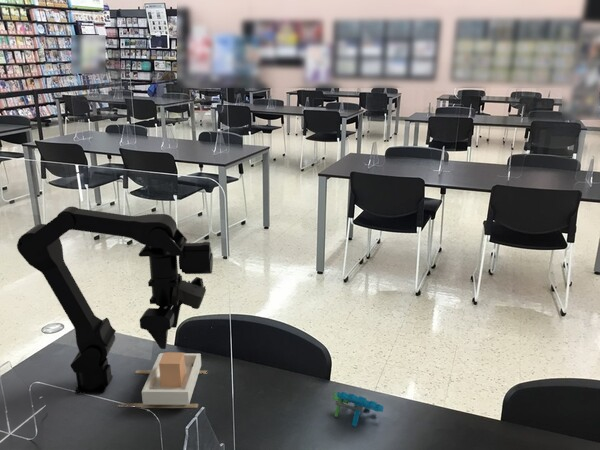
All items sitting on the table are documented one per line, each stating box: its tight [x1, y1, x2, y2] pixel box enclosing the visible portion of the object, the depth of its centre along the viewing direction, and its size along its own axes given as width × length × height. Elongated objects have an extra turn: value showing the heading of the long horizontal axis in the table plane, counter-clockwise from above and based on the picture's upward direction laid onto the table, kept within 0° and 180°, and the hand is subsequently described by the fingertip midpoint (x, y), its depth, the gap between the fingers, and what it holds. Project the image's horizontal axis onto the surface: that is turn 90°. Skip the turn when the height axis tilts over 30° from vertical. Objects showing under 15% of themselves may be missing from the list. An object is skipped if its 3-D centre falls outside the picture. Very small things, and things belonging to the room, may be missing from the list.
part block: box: [159, 351, 186, 387], centre depth 114 cm, size 4×4×6 cm
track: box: [118, 369, 208, 409], centre depth 116 cm, size 17×14×1 cm
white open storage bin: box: [141, 352, 202, 405], centre depth 115 cm, size 10×15×4 cm, turn 0°
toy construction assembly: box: [332, 391, 384, 427], centre depth 106 cm, size 11×6×10 cm
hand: (169, 337), depth 114 cm, fingers open, 9 cm apart
